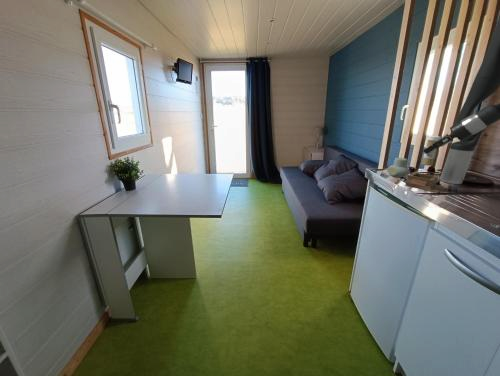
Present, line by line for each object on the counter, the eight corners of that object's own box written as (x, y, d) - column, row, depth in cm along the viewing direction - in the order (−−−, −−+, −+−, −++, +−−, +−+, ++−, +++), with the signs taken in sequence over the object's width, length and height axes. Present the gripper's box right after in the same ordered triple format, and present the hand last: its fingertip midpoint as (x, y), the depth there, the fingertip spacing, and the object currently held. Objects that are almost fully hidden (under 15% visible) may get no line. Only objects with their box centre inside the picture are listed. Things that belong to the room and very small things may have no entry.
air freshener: (383, 173, 135) (387, 156, 131) (395, 172, 136) (399, 156, 133) (398, 179, 125) (402, 161, 121) (411, 178, 126) (416, 160, 123)
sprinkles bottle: (434, 165, 109) (442, 136, 105) (430, 166, 107) (438, 136, 102) (423, 163, 113) (431, 135, 108) (419, 164, 110) (427, 135, 106)
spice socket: (412, 181, 122) (415, 171, 120) (443, 187, 112) (446, 177, 111) (405, 185, 114) (407, 175, 112) (437, 193, 105) (440, 182, 103)
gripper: (462, 120, 103) (422, 144, 115) (460, 120, 93) (417, 146, 105) (474, 133, 101) (432, 156, 113) (473, 135, 91) (427, 160, 103)
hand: (425, 151), depth 109 cm, fingers closed on sprinkles bottle, 4 cm apart
